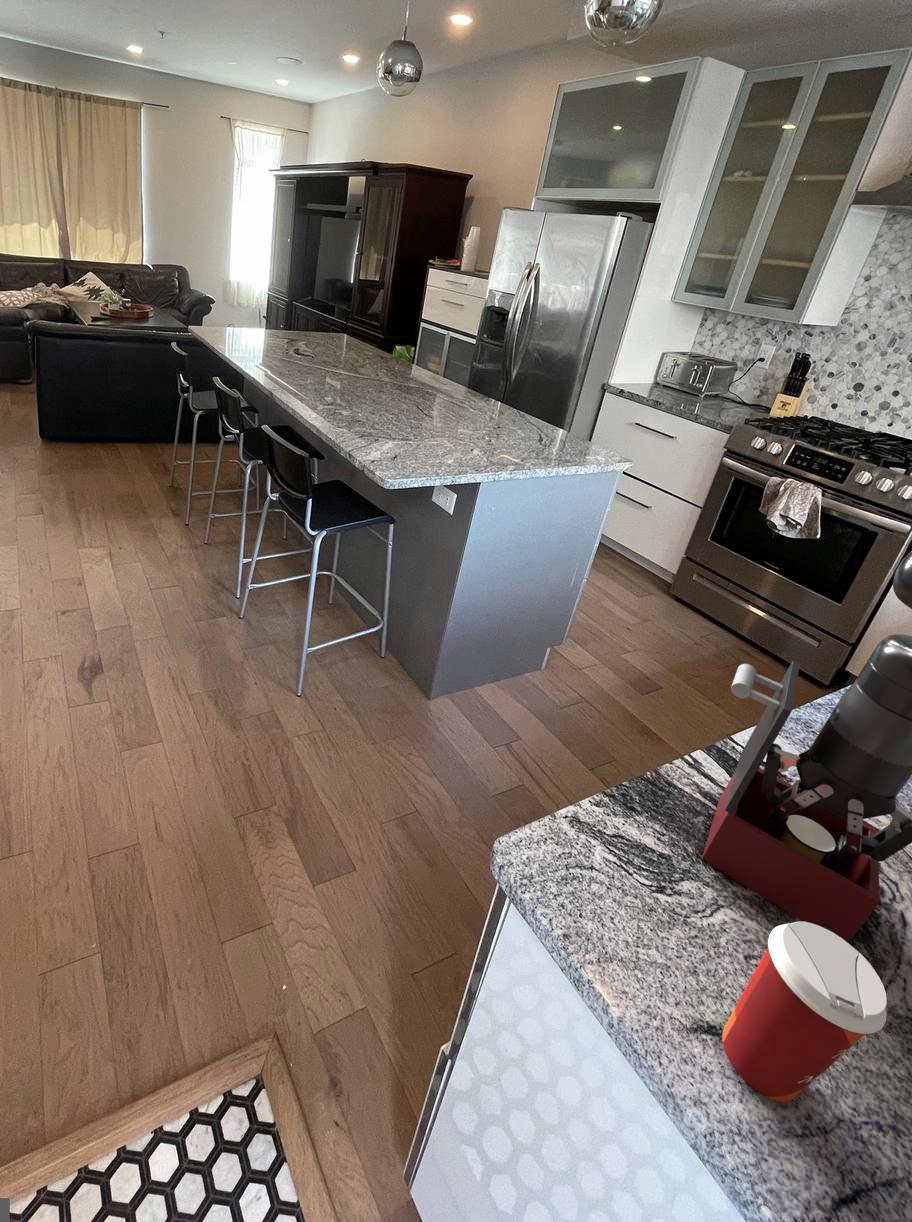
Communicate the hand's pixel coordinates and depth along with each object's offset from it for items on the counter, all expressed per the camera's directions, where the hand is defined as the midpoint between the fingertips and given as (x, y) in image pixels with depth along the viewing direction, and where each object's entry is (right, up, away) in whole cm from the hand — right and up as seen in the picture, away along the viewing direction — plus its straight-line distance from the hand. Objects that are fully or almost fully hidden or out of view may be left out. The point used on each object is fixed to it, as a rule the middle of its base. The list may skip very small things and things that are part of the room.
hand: (799, 849), depth 70 cm
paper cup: (-16, -10, -16) cm, 24 cm away
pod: (0, -1, 0) cm, 1 cm away
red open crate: (-1, -4, +2) cm, 4 cm away
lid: (-4, +13, -1) cm, 13 cm away
